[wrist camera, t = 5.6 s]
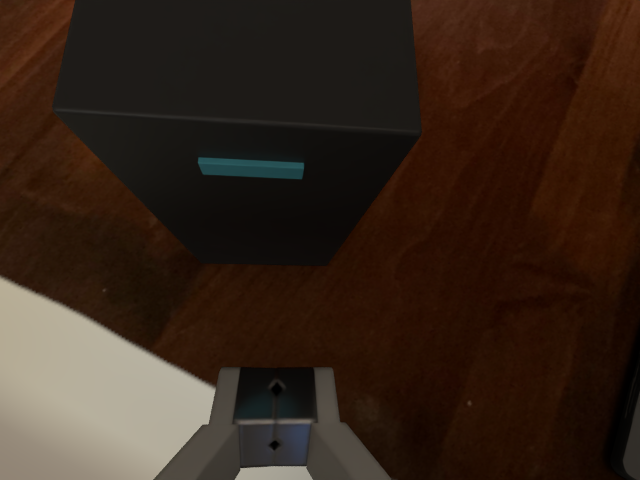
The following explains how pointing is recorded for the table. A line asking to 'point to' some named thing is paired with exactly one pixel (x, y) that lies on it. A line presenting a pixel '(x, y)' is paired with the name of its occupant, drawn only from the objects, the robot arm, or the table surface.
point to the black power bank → (246, 115)
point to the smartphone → (629, 433)
